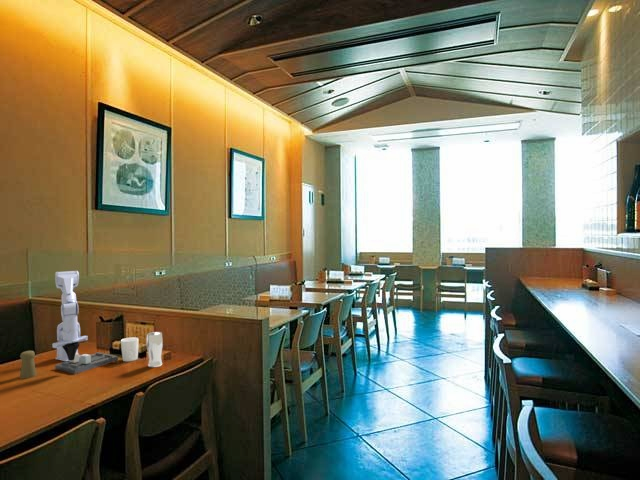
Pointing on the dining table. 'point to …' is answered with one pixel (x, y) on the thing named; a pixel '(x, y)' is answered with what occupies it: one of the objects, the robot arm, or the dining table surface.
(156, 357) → the beer glass
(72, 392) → the dining table surface
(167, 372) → the dining table surface
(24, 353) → the tan bulb-headed cylinder
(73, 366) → the console
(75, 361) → the fader cream
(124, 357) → the white cup
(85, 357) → the fader bluegrey
